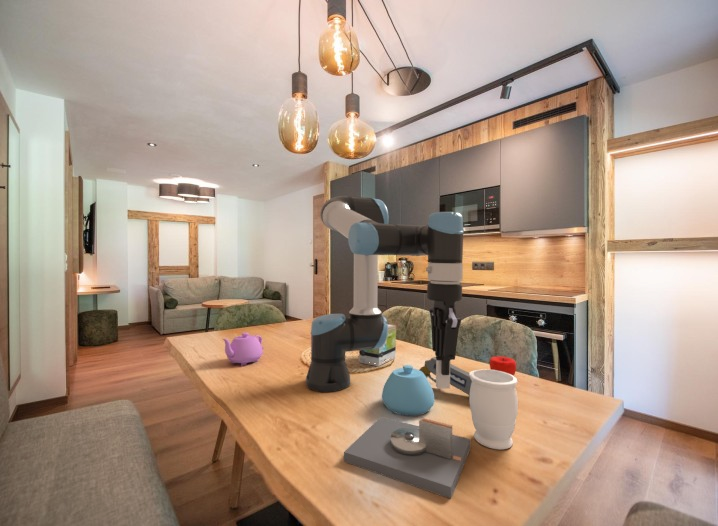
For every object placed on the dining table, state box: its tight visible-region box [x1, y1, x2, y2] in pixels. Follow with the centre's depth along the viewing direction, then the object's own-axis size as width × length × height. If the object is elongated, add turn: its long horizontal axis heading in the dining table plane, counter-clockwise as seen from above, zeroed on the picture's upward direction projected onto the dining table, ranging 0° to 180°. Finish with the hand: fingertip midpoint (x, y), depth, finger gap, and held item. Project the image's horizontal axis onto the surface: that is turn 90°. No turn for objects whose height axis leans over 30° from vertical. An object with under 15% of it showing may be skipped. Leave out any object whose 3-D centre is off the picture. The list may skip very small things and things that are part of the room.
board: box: [343, 416, 471, 499], centre depth 70 cm, size 22×18×2 cm
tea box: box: [358, 324, 397, 367], centre depth 139 cm, size 15×10×15 cm, turn 147°
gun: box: [419, 356, 472, 398], centre depth 105 cm, size 3×25×15 cm, turn 47°
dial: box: [391, 417, 453, 459], centre depth 69 cm, size 13×8×6 cm, turn 59°
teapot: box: [222, 332, 264, 367], centre depth 136 cm, size 20×14×12 cm
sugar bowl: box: [381, 364, 435, 416], centre depth 95 cm, size 15×15×12 cm
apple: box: [489, 356, 517, 376], centre depth 115 cm, size 9×9×8 cm
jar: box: [469, 368, 519, 451], centre depth 76 cm, size 11×10×15 cm
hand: (442, 387), depth 73 cm, fingers closed
